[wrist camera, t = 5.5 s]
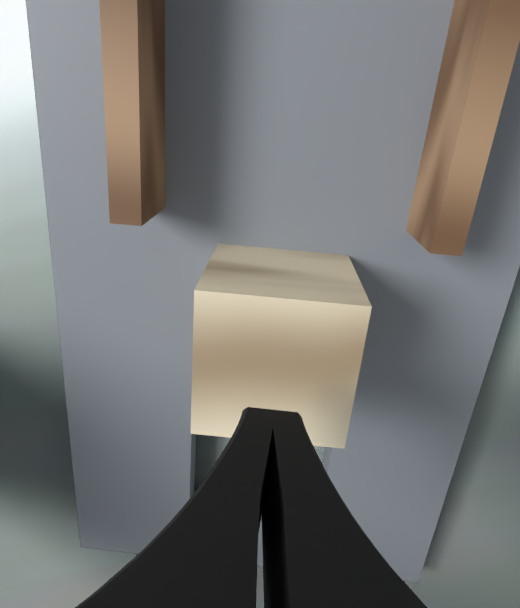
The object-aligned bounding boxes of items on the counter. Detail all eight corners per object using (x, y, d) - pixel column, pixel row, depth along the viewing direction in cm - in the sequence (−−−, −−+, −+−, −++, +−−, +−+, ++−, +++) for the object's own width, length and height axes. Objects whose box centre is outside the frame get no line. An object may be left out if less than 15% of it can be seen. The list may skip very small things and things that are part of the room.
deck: (410, 556, 25) (418, 582, 24) (91, 524, 26) (80, 547, 24) (680, -337, 12) (731, -395, 11) (14, -388, 12) (-20, -451, 11)
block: (330, 368, 19) (344, 448, 15) (212, 357, 19) (190, 433, 15) (348, 255, 17) (372, 306, 13) (217, 243, 17) (194, 290, 13)
